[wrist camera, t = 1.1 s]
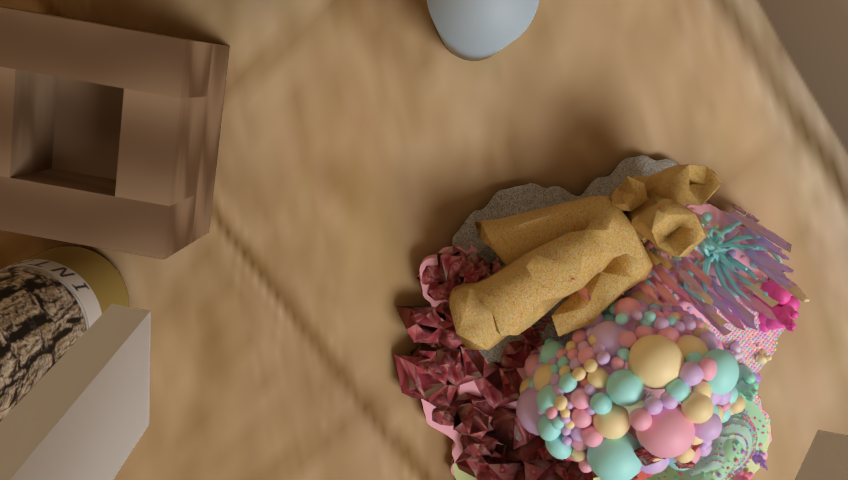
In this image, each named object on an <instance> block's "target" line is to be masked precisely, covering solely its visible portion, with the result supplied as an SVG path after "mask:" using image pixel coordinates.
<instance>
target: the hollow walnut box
mask: <svg viewBox="0 0 848 480" xmlns="http://www.w3.org/2000/svg"><path fill="white" fill-rule="evenodd" d="M229 48H230V46H226V45H221V44H215V43H209V42H204V41H198V40H192V39H187V38H181V37H175V36H170V35H164V34H158V33H153V32H147V31H141V30H136V29H130V28H124V27H118V26H113V25H107V24H101V23H96V22H90V21H84V20H79V19H73V18H67V17H62V16H56V15H50V14H45V13H39V12H32V11H26V10H20V9H13V8H7V7H0V230H2V231H8V232H13V233H19V234H25V235H30V236H36V237H41V238H47V239H53V240H58V241H64V242H69V243H75V244H81V245H86V246H92V247H97V248H103V249H109V250H114V251H120V252H125V253H131V254H137V255H142V256H148V257H153V258H159V259H166V258H168V257H169V256H171V255H172V254H174V253H176V252H177V251H179V250H181V249H182V248H184V247H185V246H187V245H189V244H190V243H192V242H194V241H195V240H197V239H199V238H200V237H202V236H203V235H205V234H207V233H208V232H209V227H210V218H211V209H212V200H213V191H214V182H215V173H216V164H217V155H218V146H219V137H220V128H221V119H222V110H223V102H224V93H225V84H226V75H227V66H228V57H229Z"/></svg>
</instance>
